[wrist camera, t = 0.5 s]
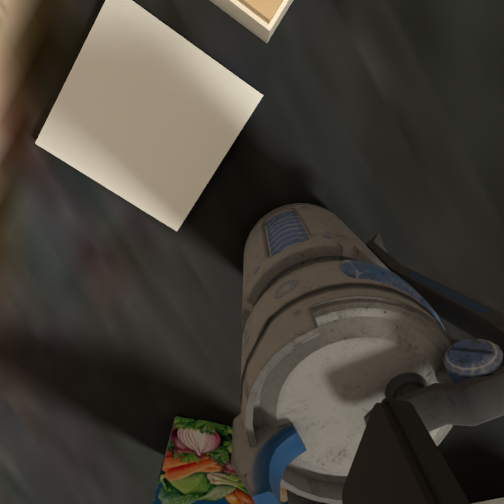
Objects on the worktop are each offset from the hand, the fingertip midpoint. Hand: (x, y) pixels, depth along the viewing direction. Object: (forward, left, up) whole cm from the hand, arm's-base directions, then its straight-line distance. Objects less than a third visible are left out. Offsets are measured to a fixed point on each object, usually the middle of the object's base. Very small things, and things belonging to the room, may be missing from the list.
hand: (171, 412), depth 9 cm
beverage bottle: (0, +9, -29) cm, 30 cm away
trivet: (-2, -9, -29) cm, 30 cm away
